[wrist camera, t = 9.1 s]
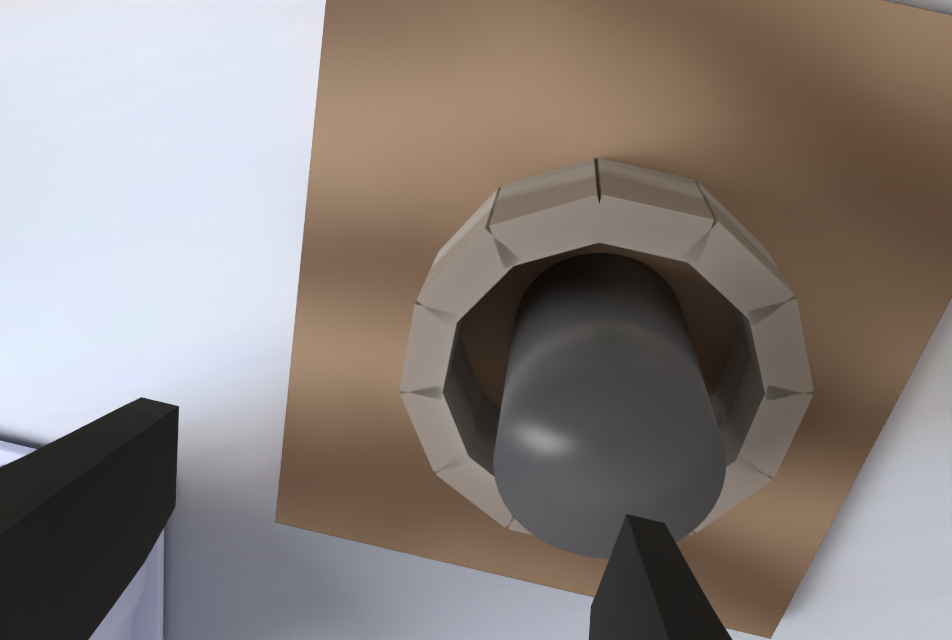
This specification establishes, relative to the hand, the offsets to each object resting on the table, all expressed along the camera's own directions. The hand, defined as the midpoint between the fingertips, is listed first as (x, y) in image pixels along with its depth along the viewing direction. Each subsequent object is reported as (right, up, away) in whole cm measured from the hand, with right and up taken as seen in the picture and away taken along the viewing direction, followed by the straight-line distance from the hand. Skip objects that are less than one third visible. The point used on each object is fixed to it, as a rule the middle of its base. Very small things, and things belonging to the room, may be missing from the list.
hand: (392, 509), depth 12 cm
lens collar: (+5, +3, +9) cm, 10 cm away
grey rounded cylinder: (+5, +3, +8) cm, 10 cm away
